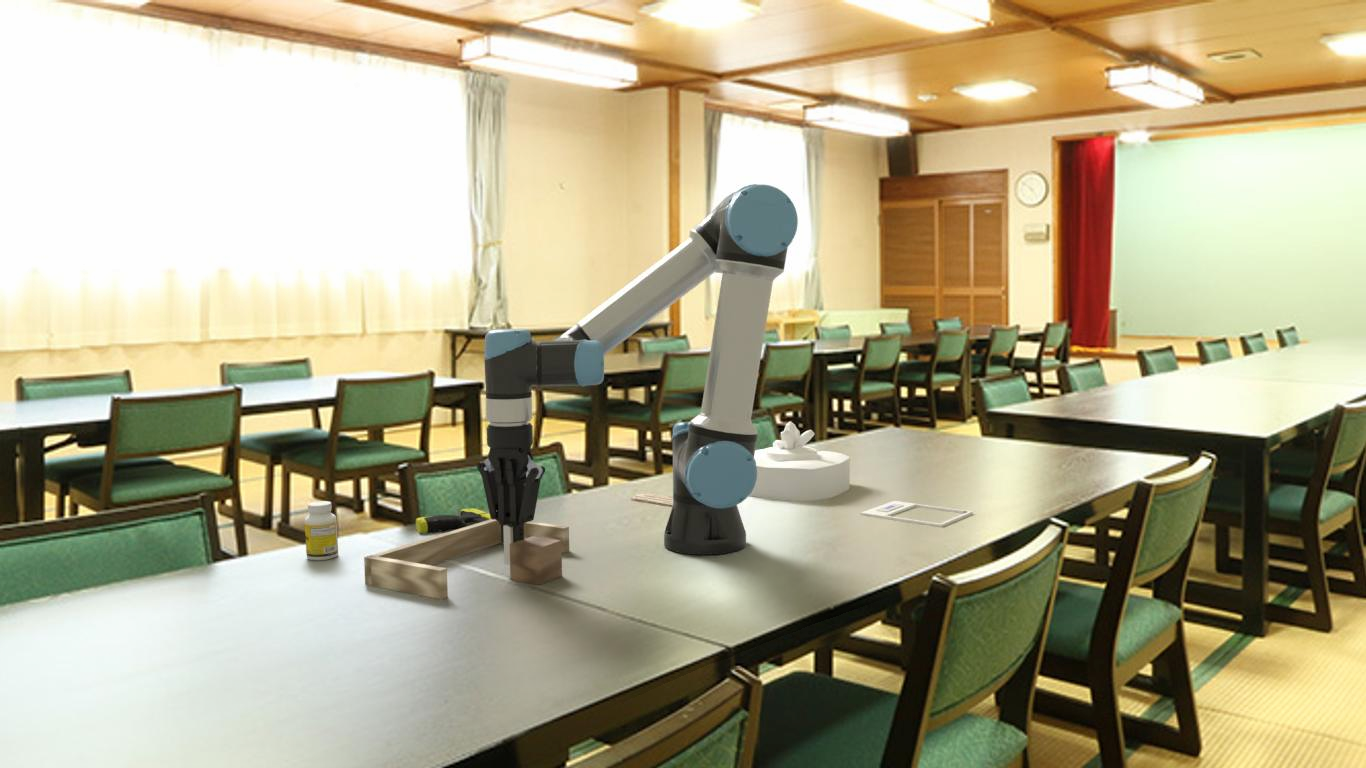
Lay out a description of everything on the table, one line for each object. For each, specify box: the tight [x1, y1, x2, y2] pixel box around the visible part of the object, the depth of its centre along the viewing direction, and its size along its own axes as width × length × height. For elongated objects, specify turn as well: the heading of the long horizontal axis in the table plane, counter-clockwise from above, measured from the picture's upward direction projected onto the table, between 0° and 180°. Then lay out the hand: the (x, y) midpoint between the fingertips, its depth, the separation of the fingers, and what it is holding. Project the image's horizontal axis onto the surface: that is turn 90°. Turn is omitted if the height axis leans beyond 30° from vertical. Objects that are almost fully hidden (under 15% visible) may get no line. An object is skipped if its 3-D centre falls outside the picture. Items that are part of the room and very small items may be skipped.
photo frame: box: [860, 500, 974, 528], centre depth 218 cm, size 15×1×18 cm
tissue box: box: [748, 420, 851, 502], centre depth 245 cm, size 25×25×16 cm
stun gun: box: [415, 507, 491, 534], centre depth 206 cm, size 3×19×15 cm
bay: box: [363, 519, 570, 600], centre depth 180 cm, size 16×33×4 cm, turn 149°
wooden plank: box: [630, 492, 673, 508], centre depth 230 cm, size 24×7×2 cm, turn 52°
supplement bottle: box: [304, 500, 339, 561], centre depth 188 cm, size 5×5×10 cm
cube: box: [509, 536, 563, 586], centre depth 173 cm, size 6×6×6 cm
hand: (513, 562), depth 176 cm, fingers closed
